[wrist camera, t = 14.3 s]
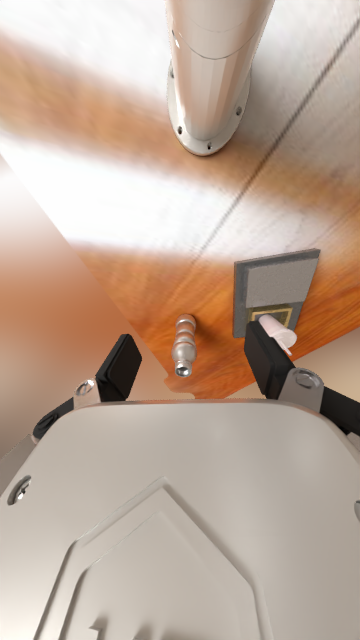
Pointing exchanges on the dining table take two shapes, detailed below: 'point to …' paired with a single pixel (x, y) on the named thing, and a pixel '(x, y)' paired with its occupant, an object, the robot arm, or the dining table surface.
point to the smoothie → (278, 332)
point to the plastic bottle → (184, 345)
